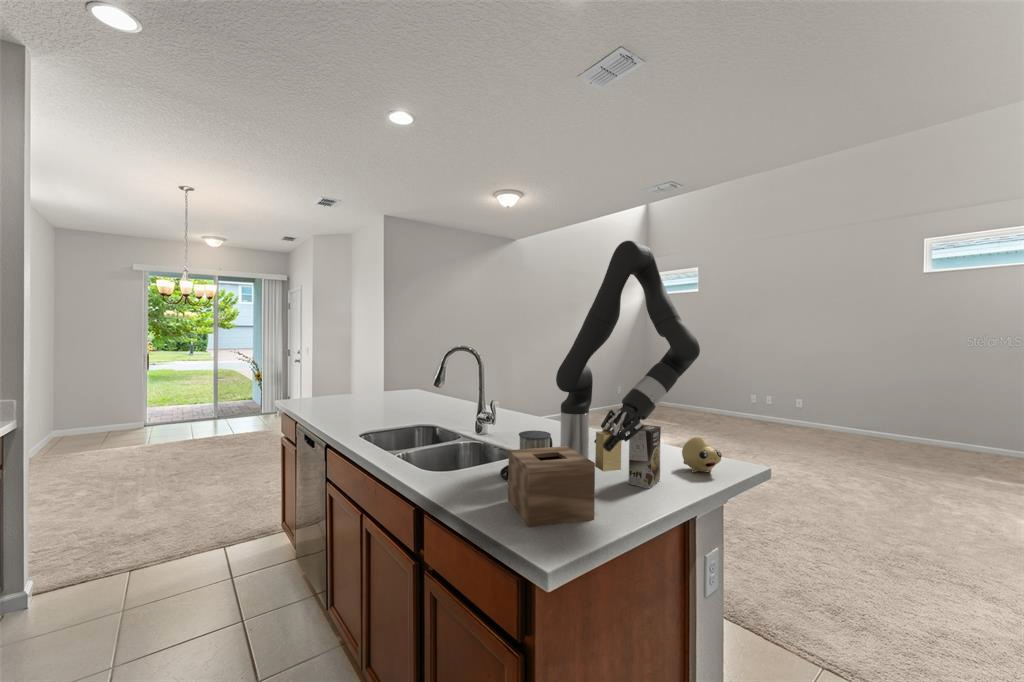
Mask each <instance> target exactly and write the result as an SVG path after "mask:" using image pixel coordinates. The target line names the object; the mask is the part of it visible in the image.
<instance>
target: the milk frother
mask: <svg viewBox="0 0 1024 682" xmlns="http://www.w3.org/2000/svg"><path fill="white" fill-rule="evenodd" d="M518 436H519V449H533V448H547V447H553V439H552V437H551V436H552V434H551V432H548V431H544V430H543V431H542V430H525V431H521V432H519V433H518ZM499 476H500V477H501V478H502V479H504V480H506V481H508V464H507V465H505V466H504V467H502V468H501V470H500V472H499Z"/></svg>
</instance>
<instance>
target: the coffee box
mask: <svg viewBox="0 0 1024 682" xmlns="http://www.w3.org/2000/svg"><path fill="white" fill-rule="evenodd" d="M643 425H644V428H643V429H642V430H640V431H639V432H638V433H637V434H635V435H634V436H633V437H632V438H630V439H629V440H628V442H629V443H628V447H629V448H628V485H630V484H631V486H634V485H636V486H635V487H639V486H640V487H639V488H643V487H645V488H644V489H647V488H650V489H651V488H652V487H654V486H655V485H656V484H658V483H659V482H660V481H661V435H662V434H661V429H662V428H661V426H657V425H650V424H649V425H648V424H643ZM633 429H634V428H633ZM629 433H630V432H629ZM659 480H660V481H659ZM658 481H659V482H658ZM657 482H658V483H657ZM654 484H655V485H654ZM653 485H654V486H653Z"/></svg>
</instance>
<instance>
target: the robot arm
mask: <svg viewBox="0 0 1024 682" xmlns="http://www.w3.org/2000/svg"><path fill="white" fill-rule="evenodd" d="M656 261H657V260H656V259H655V256H654V253H653V251H652V250H651V249H650V247H648V246H647V245H645V244H642V243H639V242H637V241H633V240H625V241H622V242H621V243H619V244H618V245H617V246H616V248H615V250H614V252H613V253H612V256H611V258H610V261H609V263H608V267H607V270H606V272H605V275H604V278H603V281H602V283H601V285H600V287H599V289H598V291H597V294H596V295H595V298H594V300H593V303H592V304H591V306H590V308H589V310H588V312H587V315H586V317H585V319H584V321H583V322H582V326H581V328H580V330H579V332H578V333H577V336H576V337H575V340H574V342H573V344H572V346H571V348H570V350H569V352H568V353H567V355H566V356H565V358H564V359H563V361H562V362H561V363H560V366H559V368H558V369H557V372H556V377H555V381H556V386H557V388H558V390H561V391H562V392H564V393H568V394H567V396H566V398H565V400H563V401H562V402H561V403H560V441H559V444H560V445H559V447H561V446H567V447H569V448H570V449H572V450H574V451H576V452H577V453H579V454H581V455H582V456H584V457H586V458H587V459H589V454H590V453H589V452H590V451H589V448H590V446H589V444H590V442H589V441H590V435H589V434H590V432H589V431H590V427H589V426H590V422H589V421H590V408H591V404H592V401H593V373H592V370H591V368H590V367H589V366H588V365H587V364H588V362H589V361H590V359H591V357H592V356H593V355H594V354H595V353H596V352H597V351H598V350H599V349H601V347H602V346H603V345H604V344H605V343H606V342H607V341H608V339H609V338H611V337H610V336H611V334H612V333H613V331H614V329H615V327H616V325H617V323H618V321H619V318H620V315H621V305H622V304H621V301H622V300H621V299H622V292H623V290H624V287H625V286H626V284H627V281H628V280H629V278H630V277H631V276H632V275H633V276H634V278H635V279H636V280H637V282H638V283H639V284H640V286H641V288H642V290H643V294H644V297H645V306H646V311H647V314H648V316H649V319H650V320H651V322H652V324H653V327H654V329H655V330H656V332H657V334H658V335H659V336H660V337H661V338H664V339H666V341H667V343H668V344H669V349H668V350H667V351H666V353H665V354H664V355H663V356H662V358H661V359H660V360H659V361H658V362H657V363H655V364H654V365H653V366H652V367H651V368H650V369H649V370H648V372H646V374H645V375H643V377H642V378H641V379H640V380H639V381H637V383H636V384H634V385H633V387H632V388H631V389H630V390H629V391H628V393H627V394H625V396H624V397H623V398H622V400H621V404H622V407H620V408H619V409H618V410H617V411H614V410H613V409H611V410H609V411H608V413H607V414H606V417H605V418H604V420H603V421H602V423H601V425H600V428H601V429H602V430H601V431H615V432H614V434H613V435H614V436H613V435H612V436H611V437H610V438H609V439H608V440H607V441H606V443H605V444H604V445H603V447H604V448H605V449H606V450H607V451H608V452H610V451H611V450H612V449H613V448H614V447H615V445H616V444H617V443H618V442H619V441H620V442H621V443H622V442H623V441H624V442H629V439H630V438H632V437H633V436H634V435H635V434H637V433H638V432H639V431H640V430H642V429H643V428H644V425H645V424H643V423H642V422H641V421H645V420H647V418H648V417H650V415H651V414H652V413H653V412H654V410H655V409H656V408H657V407H658V406H659V405H660V404H661V402H662V401H663V399H664V397H665V396H666V395H667V393H668V392H669V391H670V390H671V389H672V388H673V387H674V386H675V384H676V383H677V381H678V379H680V377H681V376H683V374H684V373H685V372H687V370H688V369H689V368H690V367H691V366H692V365H693V363H695V361H696V360H697V358H698V357H699V356H700V354H701V348H700V344H699V341H698V340H697V338H696V336H695V335H694V334H693V332H692V331H691V330H690V329H689V328H688V327H687V325H685V323H684V322H683V321H682V319H681V317H680V315H679V313H678V311H677V309H676V307H675V306H674V304H673V301H672V300H671V298H670V295H669V294H668V291H667V290H666V287H665V285H664V283H663V280H662V277H661V274H660V271H659V268H658V265H657V262H656ZM633 428H634V429H633ZM629 432H630V433H629ZM593 442H594V443H595V444H596V438H595V439H594V441H593Z"/></svg>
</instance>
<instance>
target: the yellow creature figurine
mask: <svg viewBox="0 0 1024 682" xmlns="http://www.w3.org/2000/svg"><path fill="white" fill-rule="evenodd" d="M681 455H682V459H683V464H684V465H685V466H686V465H687V466H688V467H689V468H691V471H693V472H692V473H694V472H696V473H697V472H702V471H703V473H704V472H707V471H711V470H712V469H713V468H714V467H715V466H716V465H718V464H719V463H720V462H721V461H722V456H723V455H722V452H721V451H719V450H717V449H715V448H713V446H712V445H711V444H710V443H708V441H706V440H705V439H703V438H702V437H699V436H695V437H692V438H690V439H689V440H687V441H686V442H685V443H684V445H683V447H682V449H681ZM711 472H712V471H711Z"/></svg>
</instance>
